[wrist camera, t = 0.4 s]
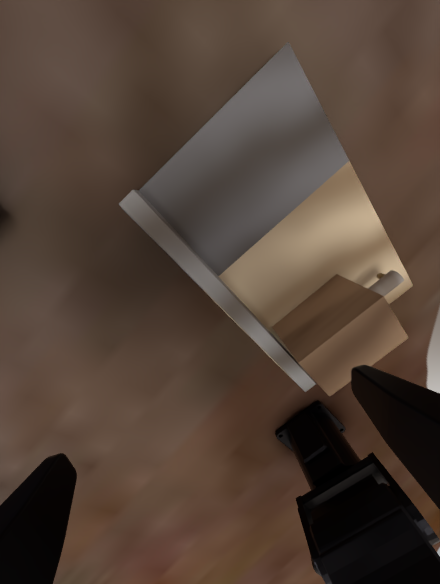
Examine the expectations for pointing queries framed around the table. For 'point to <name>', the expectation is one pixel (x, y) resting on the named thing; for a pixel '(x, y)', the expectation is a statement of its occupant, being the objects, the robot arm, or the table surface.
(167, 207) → the board
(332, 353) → the brown block with peg
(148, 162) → the table surface
